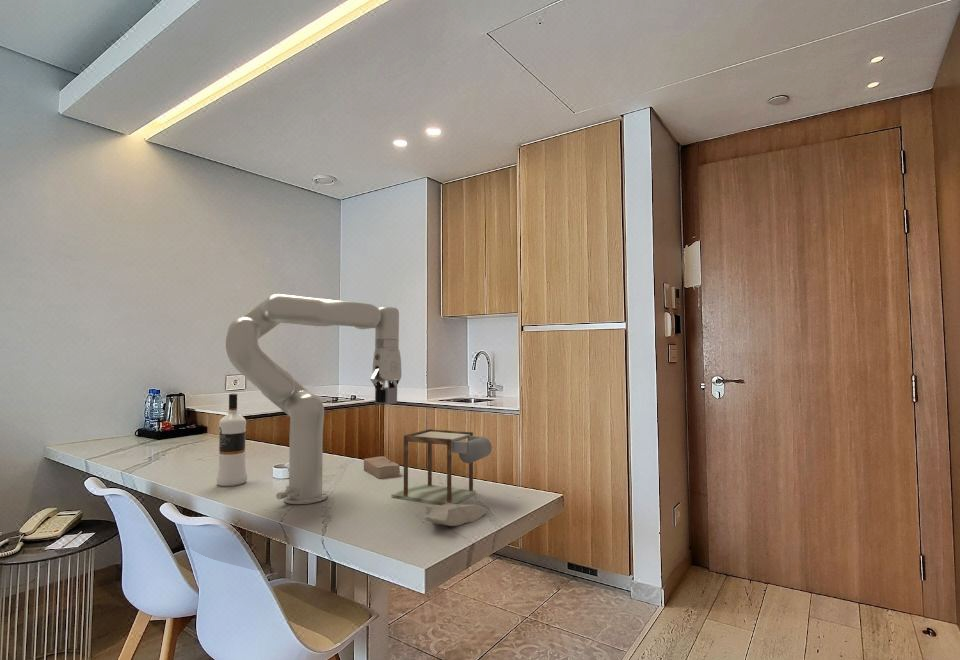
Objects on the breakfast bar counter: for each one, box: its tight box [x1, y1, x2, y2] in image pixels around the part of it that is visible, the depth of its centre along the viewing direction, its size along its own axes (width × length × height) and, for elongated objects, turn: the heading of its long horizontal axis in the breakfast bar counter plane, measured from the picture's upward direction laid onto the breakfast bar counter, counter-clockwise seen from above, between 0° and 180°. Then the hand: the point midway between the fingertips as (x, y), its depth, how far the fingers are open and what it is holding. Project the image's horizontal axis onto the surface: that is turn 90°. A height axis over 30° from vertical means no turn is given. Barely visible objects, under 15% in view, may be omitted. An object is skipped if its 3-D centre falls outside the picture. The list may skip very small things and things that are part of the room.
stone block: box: [374, 386, 398, 405], centre depth 171 cm, size 5×5×5 cm
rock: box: [424, 503, 487, 527], centre depth 139 cm, size 21×5×15 cm
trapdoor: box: [416, 431, 493, 464], centre depth 160 cm, size 22×12×6 cm, turn 64°
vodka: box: [216, 393, 248, 487], centre depth 178 cm, size 9×9×30 cm
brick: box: [363, 455, 401, 479], centre depth 192 cm, size 17×8×5 cm, turn 31°
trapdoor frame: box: [390, 428, 476, 505], centre depth 162 cm, size 21×15×19 cm
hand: (386, 400), depth 171 cm, fingers closed on stone block, 5 cm apart
